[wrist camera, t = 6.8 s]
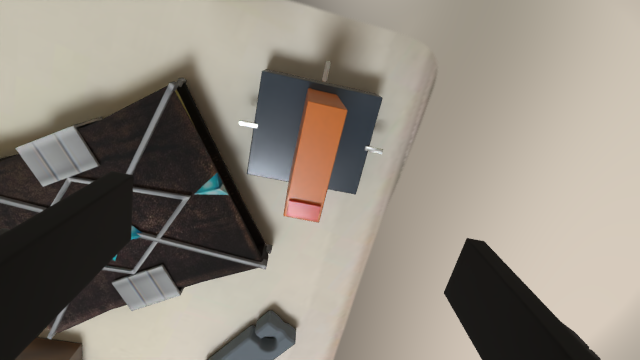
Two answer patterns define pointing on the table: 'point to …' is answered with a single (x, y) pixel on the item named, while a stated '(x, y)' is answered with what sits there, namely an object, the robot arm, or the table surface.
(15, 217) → the book
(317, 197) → the orange handle lever
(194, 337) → the table surface
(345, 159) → the plate
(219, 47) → the table surface
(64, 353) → the block
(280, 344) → the bracket
